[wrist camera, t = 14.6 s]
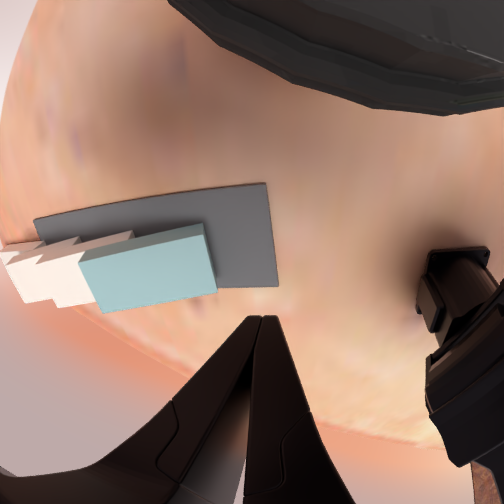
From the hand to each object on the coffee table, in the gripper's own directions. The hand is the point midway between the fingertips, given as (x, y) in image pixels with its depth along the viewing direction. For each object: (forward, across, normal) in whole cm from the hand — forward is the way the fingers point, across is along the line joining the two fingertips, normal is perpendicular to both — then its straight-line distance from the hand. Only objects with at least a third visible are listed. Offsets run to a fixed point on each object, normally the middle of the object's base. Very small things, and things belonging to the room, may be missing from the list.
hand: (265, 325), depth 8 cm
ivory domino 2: (+12, +12, +5) cm, 18 cm away
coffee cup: (+13, -4, -11) cm, 18 cm away
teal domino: (+12, +6, +5) cm, 14 cm away
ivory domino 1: (+12, +19, +5) cm, 23 cm away
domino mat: (+13, +14, +4) cm, 20 cm away
